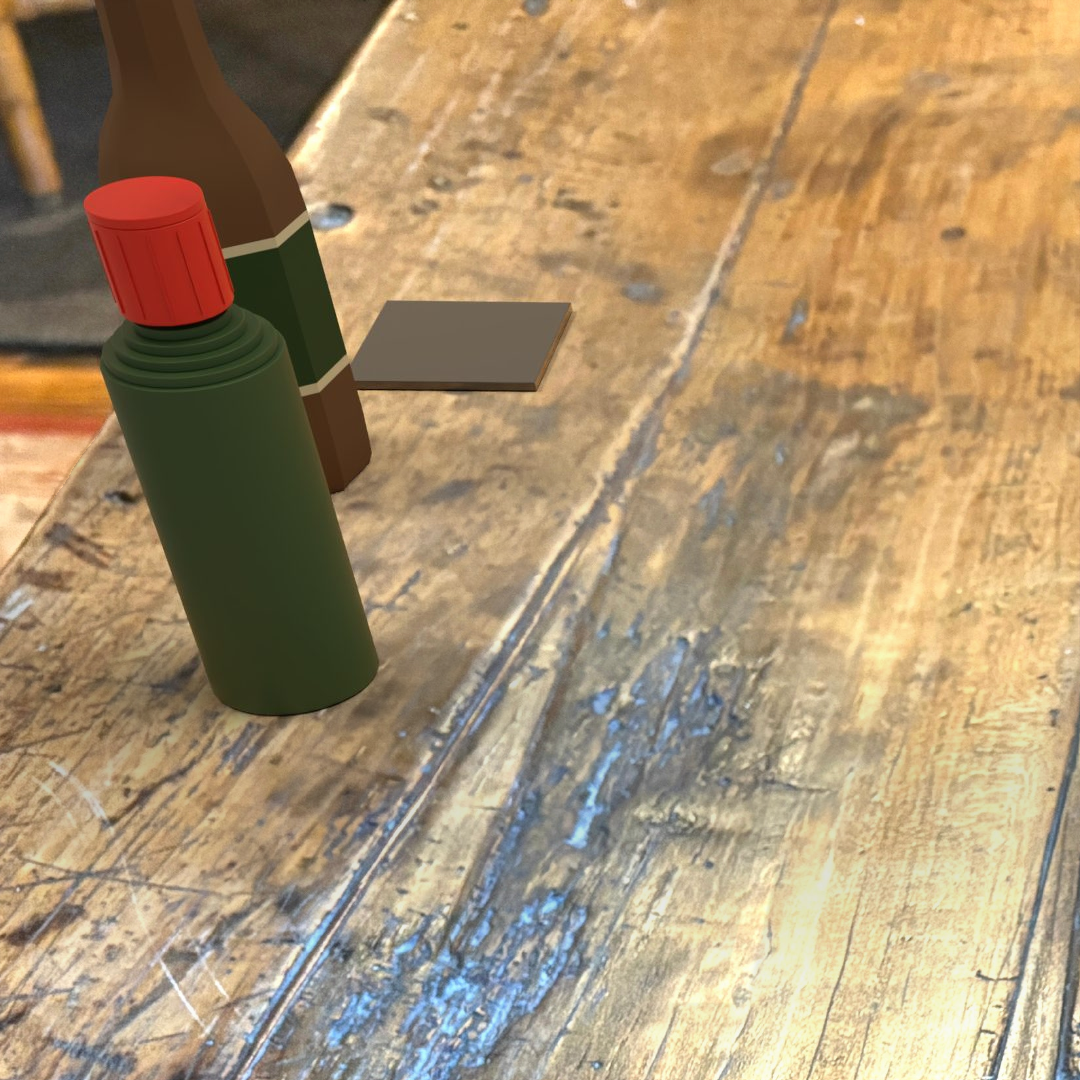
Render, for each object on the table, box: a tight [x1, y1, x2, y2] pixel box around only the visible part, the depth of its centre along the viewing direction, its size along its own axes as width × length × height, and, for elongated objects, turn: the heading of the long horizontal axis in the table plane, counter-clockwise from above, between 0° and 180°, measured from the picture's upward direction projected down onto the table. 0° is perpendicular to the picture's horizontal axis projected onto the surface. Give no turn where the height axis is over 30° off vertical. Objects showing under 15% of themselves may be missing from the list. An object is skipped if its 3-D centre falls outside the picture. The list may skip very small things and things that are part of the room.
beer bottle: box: [93, 0, 373, 494], centre depth 105 cm, size 8×8×24 cm
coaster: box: [350, 299, 573, 392], centre depth 122 cm, size 9×9×1 cm
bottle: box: [99, 303, 380, 716], centre depth 95 cm, size 6×6×18 cm
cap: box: [83, 176, 234, 326], centre depth 89 cm, size 4×4×4 cm
